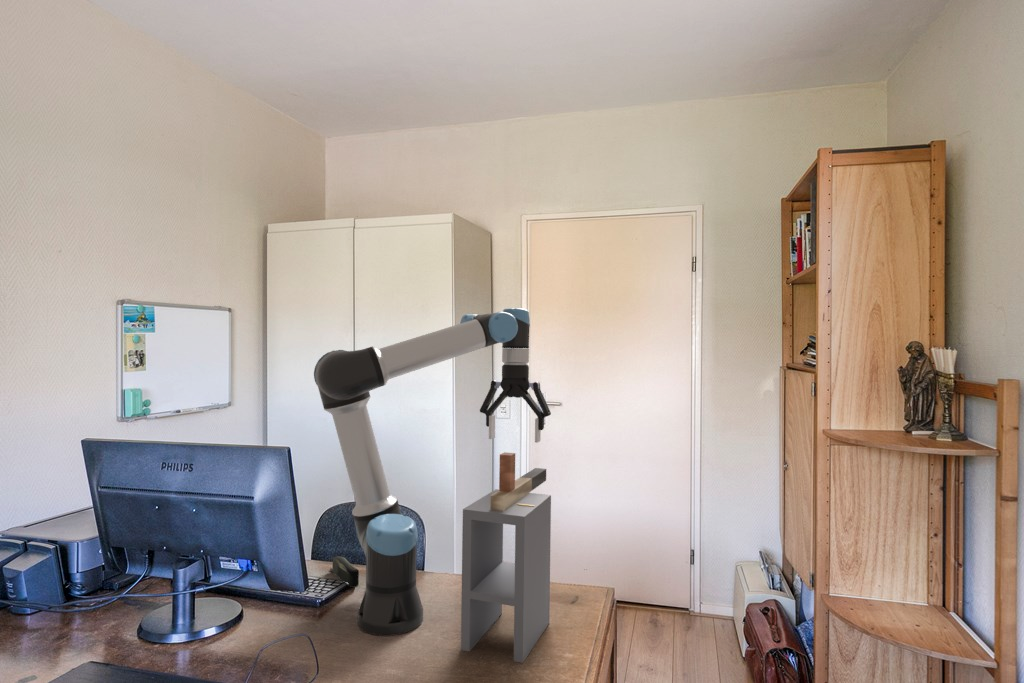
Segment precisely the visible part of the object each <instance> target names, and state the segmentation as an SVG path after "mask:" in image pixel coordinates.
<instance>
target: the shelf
mask: <svg viewBox="0 0 1024 683" xmlns="http://www.w3.org/2000/svg"><path fill="white" fill-rule="evenodd" d="M497 491H499V488H498V489H494V490H492V491H491V492H489V493H487V494H486V495H484V496H482V497H481V498H479V499H477V500H475V501H474V502H472V503H471V504H469V505H468V506H465V507H464V508H462V534H461V535H462V536H461V537H462V541H461V542H462V545H461V546H462V547H461V610H460V612H461V615H460V619H461V620H460V623H461V624H460V651H464V652H468V651H469V652H471V651H472V649H473V648H474V647H475V646H476V645H477V643H479V641H481V639H482V638H483V637H482V636H484V635H485V634H486V633H487V632H488V631H489V630H490V628H491V627H492V626H494V624H495V623H494V622H496V621H497V620H498V619H499V618H500V617H501V616H502V614H503V605H504V606H510V607H513V608H514V609H513V612H514V613H513V616H514V617H513V619H514V620H513V662H516V663H522V664H524V662H525V660H526V659H527V657H528V656H529V654H530V653H531V652H532V649H533V648H534V647H535V645H536V644H537V642H538V640H539V639H540V638H541V636H542V635H543V633H544V631H545V630H547V627H548V625H549V624H550V610H551V608H550V607H551V606H550V604H551V603H550V598H551V597H550V596H551V595H550V594H551V536H552V535H551V534H552V532H551V528H552V527H551V524H552V523H551V522H552V520H551V519H552V494H545V493H544V494H543V493H536V492H535V493H534V492H529V493H528V494H527V495H525V496H524V497H522V498H521V499H520V500H518V501H517V502H516V503H514V504H513V505H511V506H510V507H509V508H507V509H506V510H504V511H498V510H490V504H491V495H492V494H494V493H496V492H497ZM504 525H510V526H515V528H514V529H515V532H514V533H515V535H514V536H515V537H514V540H515V541H514V542H515V543H514V547H515V548H514V562H512V561H510V562H509V561H504V560H503V555H504V554H503V551H504ZM500 615H501V616H500ZM499 616H500V617H499Z"/></svg>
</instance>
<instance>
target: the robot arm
mask: <svg viewBox="0 0 1024 683" xmlns="http://www.w3.org/2000/svg"><path fill="white" fill-rule="evenodd" d="M530 323H531V322H530V312H529V310H528V309H526V308H513V307H511V308H509V307H507V308H504V309H503V310H502V311H497V312H492V313H483V314H478V313H477V314H475V313H472V314H469V313H468V314H464V315H463V316H462V317H461V319H460V323H458V324H455V325H452V326H448V327H446V328H443V329H440V330H439V329H438V330H436V331H431V332H428V333H426V334H422V335H420V336H419V335H418V336H416V337H413V338H410V339H406V340H403V341H399V342H397V343H394V344H389V345H387V346H384V347H380V348H377V347H374V346H370V347H366V348H361V349H357V350H344V349H338V350H331V351H328V352H326V353H325V354H324V355H322V356H321V357H320V358H319V359H318V360H317V362H316V364H315V366H314V369H313V370H314V371H313V379H314V382H315V385H316V386H317V388H318V392H319V395H320V398H321V399H320V400H321V403H322V406H323V410H324V411H325V412H327V413H329V414H331V416H332V419H333V422H334V426H335V430H336V434H337V437H338V440H339V445H340V449H341V452H342V457H343V459H344V463H345V468H346V471H347V475H348V479H349V481H350V482H349V483H350V485H351V489H352V493H353V496H354V500H355V506H354V508H353V509H352V511H351V512H352V513H351V514H352V518H353V521H354V525H355V534H356V537H357V540H358V543H359V545H360V546H361V549H362V551H363V553H364V556H365V561H366V562H365V563H366V564H365V565H366V566H365V590H364V594H363V597H362V600H361V602H360V605H359V609H358V612H357V627H358V628H359V629H360V630H361V631H362V632H364V633H366V634H370V635H374V636H381V637H382V636H383V637H384V636H385V637H386V636H387V637H388V636H396V635H401V634H404V633H405V634H406V633H407V632H411V631H413V630H415V629H416V628H418V627H419V626H420V625H421V624H422V622H424V606H423V604H422V601H421V598H420V594H419V591H418V587H417V565H418V564H417V561H418V560H417V556H418V553H417V551H418V542H417V541H418V539H419V538H418V536H419V535H418V528H417V524H416V522H415V521H414V519H412V518H411V517H410V516H407V515H403V514H402V511H401V508H400V504H399V500H398V497H397V496H395V495H393V494H391V493H390V489H389V486H388V482H387V478H386V475H385V472H384V468H383V467H384V466H383V465H382V460H381V455H380V452H379V448H378V445H377V442H376V441H377V440H376V437H375V434H374V429H373V425H372V421H371V418H370V414H369V410H368V407H367V404H368V402H369V401H370V398H371V395H370V391H373V390H375V389H378V388H380V387H384V386H386V384H387V383H388V381H389V380H390V379H394V378H396V377H400V376H403V375H406V374H410V373H412V372H415V371H418V370H420V369H423V368H427V367H430V366H433V365H436V364H439V363H442V362H444V361H449V360H451V359H454V358H457V357H459V356H462V355H466V354H468V353H472V352H475V351H477V350H480V349H484V348H488V347H491V346H494V345H497V344H499V343H501V344H502V345H501V348H502V349H501V353H502V354H501V355H502V356H501V362H502V363H503V364H502V365H501V381H498V380H495V379H494V380H491V382H490V388H489V390H488V393H487V394H486V397H485V398H484V401H483V402H482V405H481V406H480V409H479V413H480V414H484V415H485V426H486V427H488V440H493V439H495V438H496V431H495V430H496V414H494V413H495V411H496V410H497V409H498V407H499V406H500V405H501V404H502V403H503V402H504V400H506V399H507V398H522V399H523V400H524V401H525V402H526V403H527V405H528V406H529V407H530V409H531V410H532V412H533V413H534V414H535V415H536V416H537V417H536V418H535V419H534V443H535V444H536V443H540V442H541V431H543V430H544V429H545V418H546V417H549V416H551V414H552V413H551V410H550V408H549V405H548V403H547V401H546V399H545V397H544V394H543V393H542V390H541V384H540V383H541V382H540V381H534V382H530V380H529V379H530V378H529V377H530V374H529V373H530V366H529V365H528V363H529V362H530V328H531V324H530ZM499 388H501V389H502V391H501V393H500V394H499V396H498V397H497V398H496V399H495V401H494V402H493V403H492V401H493V399H494V397H495V394H496V393H497V390H498V389H499ZM530 388H531V390H532V391H533V393H534V395H535V397H536V400H537V403H538V404H539V405H538V404H537V403H536V401H535V400H534V399H533V398H532V396H531V394H530V393H529V389H530ZM491 403H492V404H491Z"/></svg>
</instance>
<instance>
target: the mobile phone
mask: <svg viewBox="0 0 1024 683" xmlns="http://www.w3.org/2000/svg"><path fill="white" fill-rule="evenodd" d="M329 571H330V572H332V573H333V574H334V575H335V576H336V577H338V579H340V581H342V582H343V581H345V582H348V583H349V585H350V586H351V588H352V587H358V586H359V575H360V574H359V572H360V571H359V569H358V568H356V567H355V566H354V565H353V564H352V563H350V562H349V561H348V560H347V559H346V557H344V556H340V555H338V556H334V557H333V558H332V567H329Z"/></svg>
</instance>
